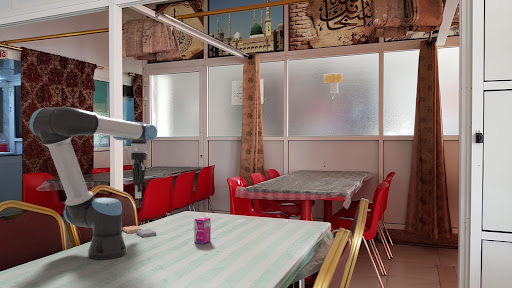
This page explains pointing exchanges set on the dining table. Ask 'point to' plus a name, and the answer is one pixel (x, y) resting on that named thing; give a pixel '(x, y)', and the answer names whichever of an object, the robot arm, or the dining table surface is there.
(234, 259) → the dining table surface
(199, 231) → the supplement box
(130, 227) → the terracotta tile
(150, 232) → the slate tile
